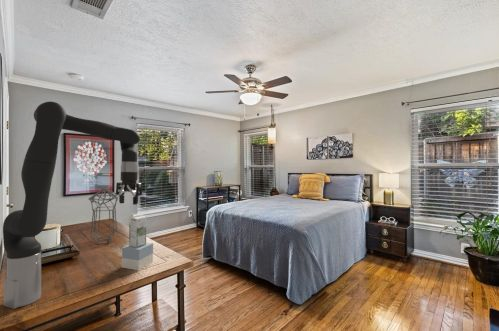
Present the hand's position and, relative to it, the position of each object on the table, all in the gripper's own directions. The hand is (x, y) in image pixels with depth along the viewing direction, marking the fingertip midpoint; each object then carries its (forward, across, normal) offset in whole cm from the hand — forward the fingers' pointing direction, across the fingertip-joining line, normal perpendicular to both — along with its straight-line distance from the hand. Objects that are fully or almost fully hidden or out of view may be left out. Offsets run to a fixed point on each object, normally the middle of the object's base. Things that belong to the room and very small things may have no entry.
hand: (128, 203), depth 118 cm
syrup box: (+21, +3, +4) cm, 22 cm away
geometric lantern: (+31, -44, +23) cm, 58 cm away
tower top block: (+26, +3, +4) cm, 27 cm away
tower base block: (+31, +3, +4) cm, 32 cm away
